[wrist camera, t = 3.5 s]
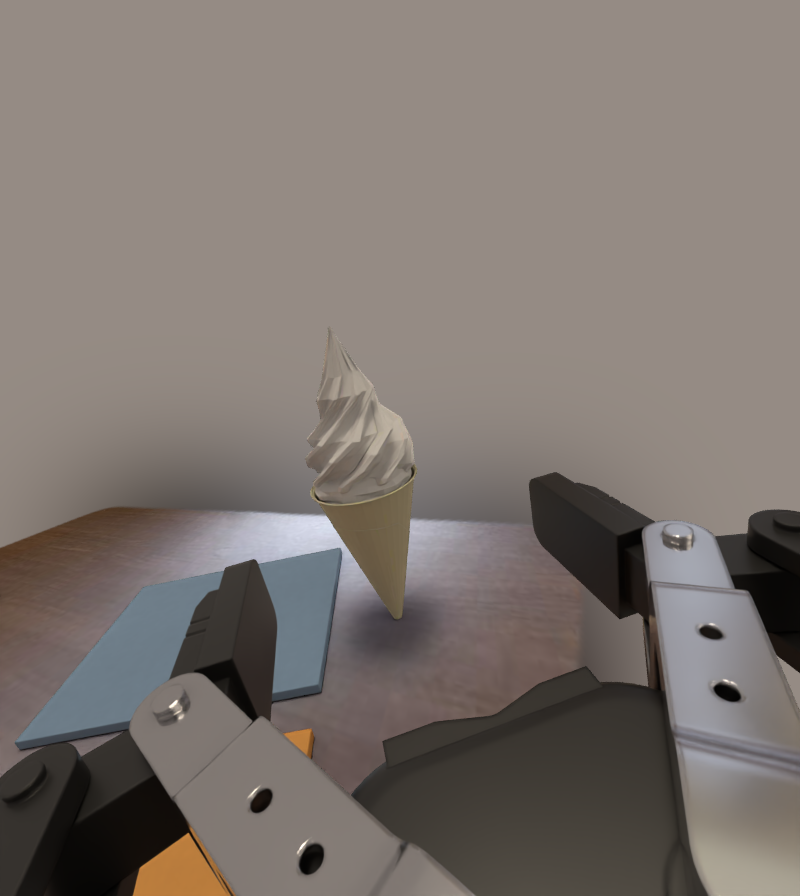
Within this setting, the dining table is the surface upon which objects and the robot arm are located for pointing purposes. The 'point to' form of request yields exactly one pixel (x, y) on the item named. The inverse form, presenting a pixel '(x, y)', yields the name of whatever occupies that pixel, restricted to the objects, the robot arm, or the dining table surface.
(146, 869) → the caramel pad
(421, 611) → the dining table surface
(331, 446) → the ice cream cone
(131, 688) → the slate pad
